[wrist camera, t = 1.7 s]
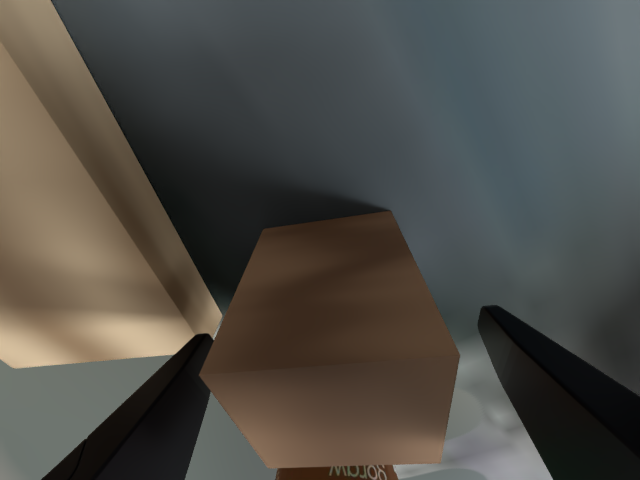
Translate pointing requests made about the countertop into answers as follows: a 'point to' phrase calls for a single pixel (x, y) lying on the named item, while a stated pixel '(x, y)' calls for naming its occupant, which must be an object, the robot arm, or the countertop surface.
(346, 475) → the food container
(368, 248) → the walnut block
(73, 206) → the oak base
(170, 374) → the robot arm
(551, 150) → the countertop surface
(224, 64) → the countertop surface
